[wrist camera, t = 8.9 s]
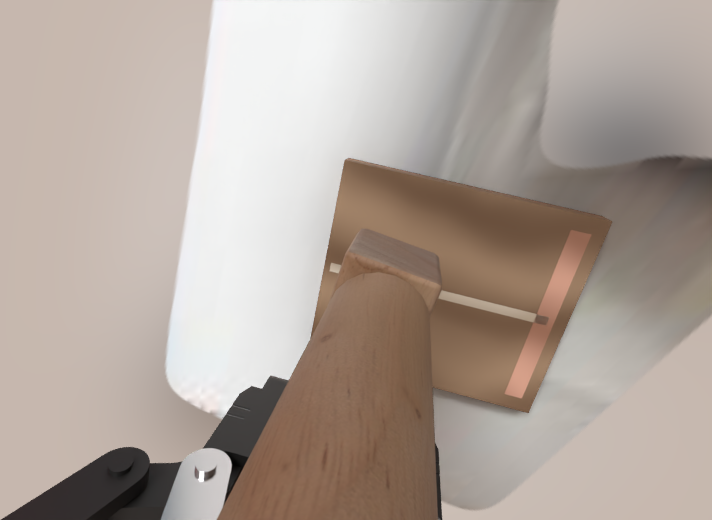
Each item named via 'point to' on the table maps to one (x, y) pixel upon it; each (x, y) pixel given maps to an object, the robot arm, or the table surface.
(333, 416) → the tan cylinder-on-bar part
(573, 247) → the board
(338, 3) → the table surface
